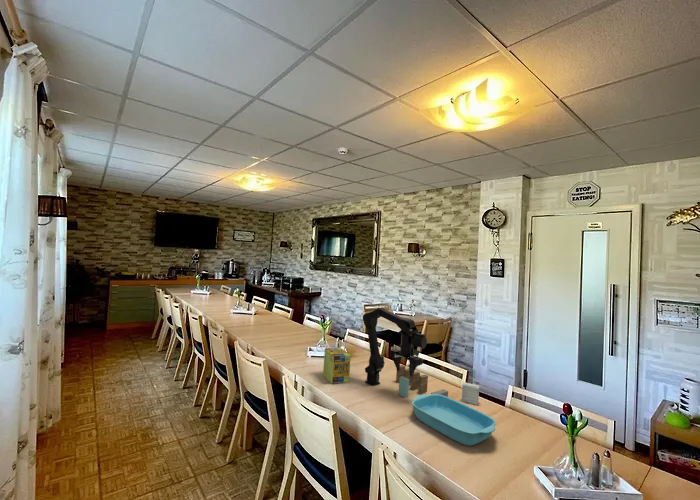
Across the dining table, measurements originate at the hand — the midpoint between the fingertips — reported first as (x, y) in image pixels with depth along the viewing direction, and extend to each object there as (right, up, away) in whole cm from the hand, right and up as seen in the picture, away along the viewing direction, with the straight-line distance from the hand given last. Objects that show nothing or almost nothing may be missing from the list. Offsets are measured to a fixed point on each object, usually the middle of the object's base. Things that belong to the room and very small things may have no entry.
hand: (404, 373), depth 165 cm
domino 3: (+7, -12, +9) cm, 17 cm away
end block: (+17, -12, -4) cm, 21 cm away
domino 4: (+10, -12, +5) cm, 17 cm away
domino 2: (+4, -12, +14) cm, 18 cm away
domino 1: (+1, -12, +18) cm, 22 cm away
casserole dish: (+15, -12, -29) cm, 34 cm away
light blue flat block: (-1, -11, 0) cm, 11 cm away
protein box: (-37, -10, +17) cm, 41 cm away
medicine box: (+33, -14, -3) cm, 36 cm away
